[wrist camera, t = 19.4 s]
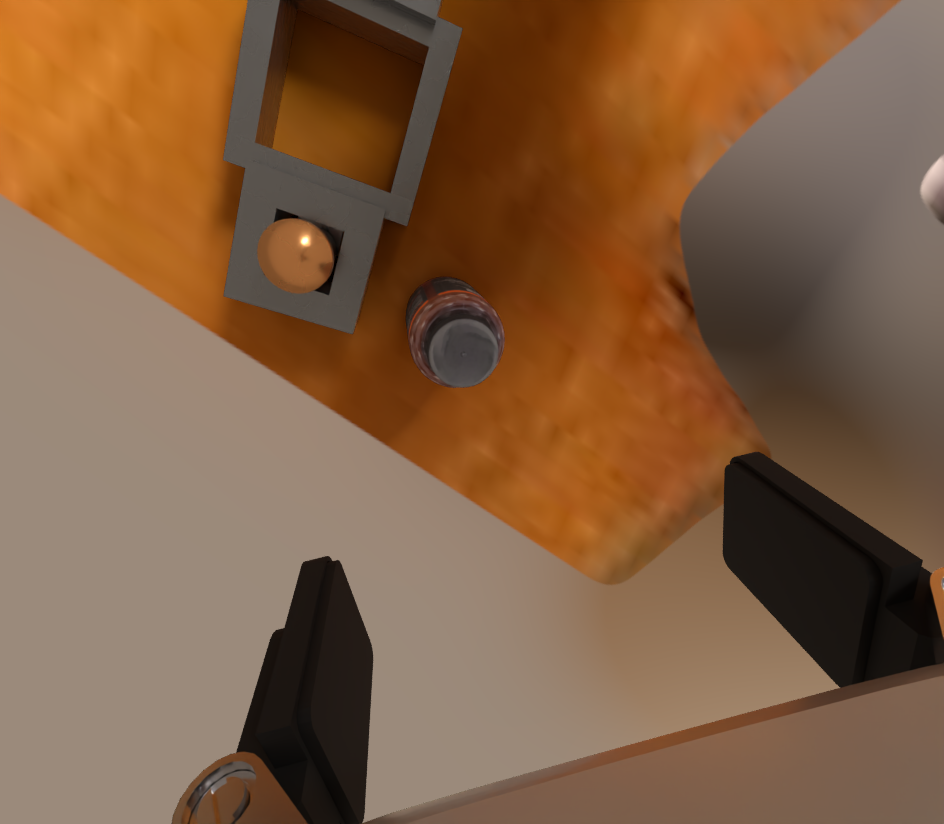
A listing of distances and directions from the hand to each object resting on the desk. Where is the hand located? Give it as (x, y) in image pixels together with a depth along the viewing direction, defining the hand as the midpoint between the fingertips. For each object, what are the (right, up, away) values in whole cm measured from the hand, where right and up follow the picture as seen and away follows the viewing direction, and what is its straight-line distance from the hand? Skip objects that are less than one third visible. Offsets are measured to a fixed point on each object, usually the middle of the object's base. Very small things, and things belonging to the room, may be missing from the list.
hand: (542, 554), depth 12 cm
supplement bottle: (-4, +11, +26) cm, 29 cm away
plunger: (-12, +14, +22) cm, 29 cm away
